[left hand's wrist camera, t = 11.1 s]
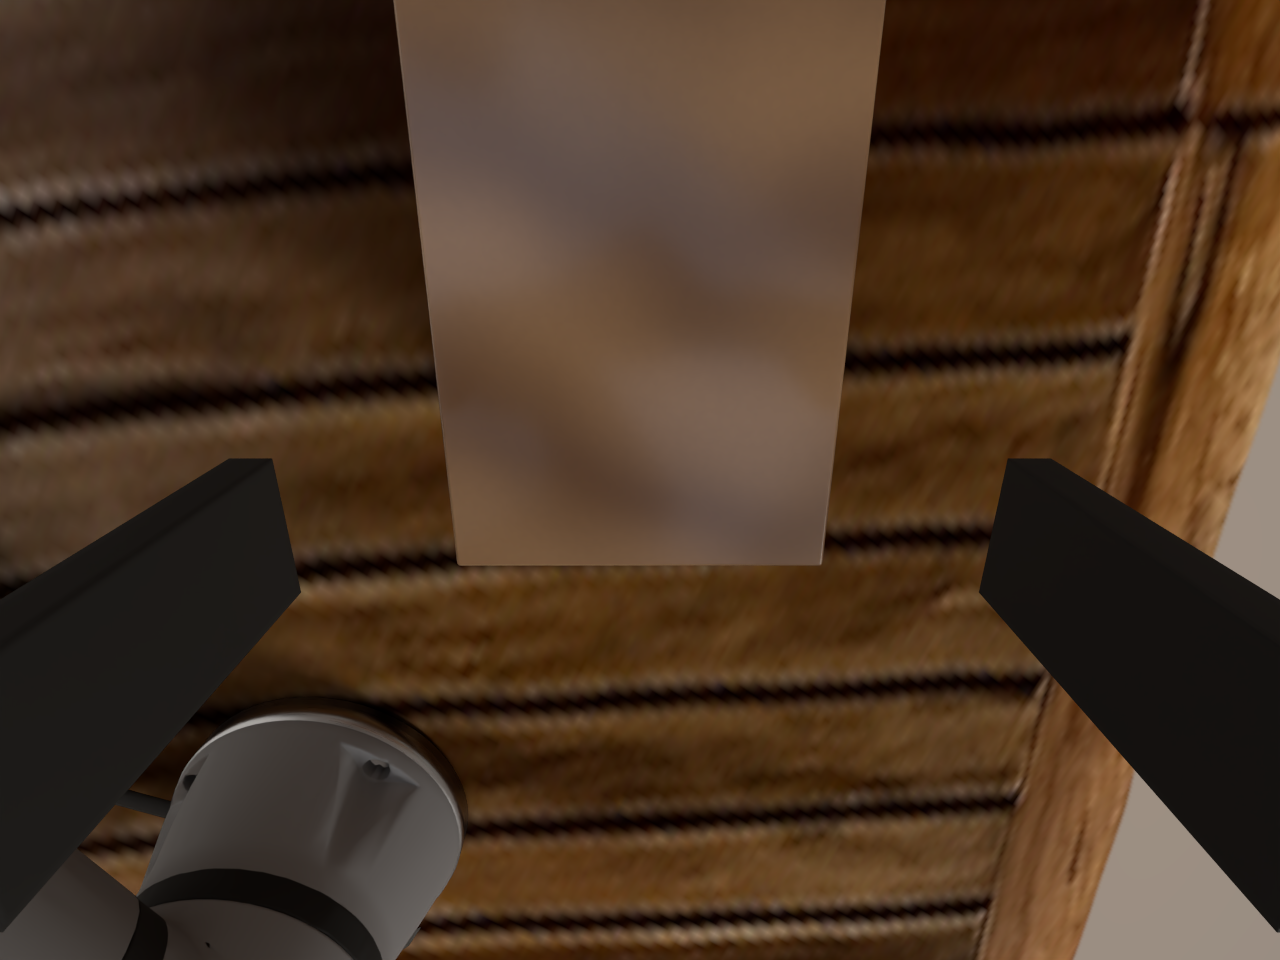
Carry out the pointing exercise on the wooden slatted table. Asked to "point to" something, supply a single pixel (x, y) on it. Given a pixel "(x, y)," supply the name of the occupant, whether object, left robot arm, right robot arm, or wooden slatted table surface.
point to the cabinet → (639, 268)
